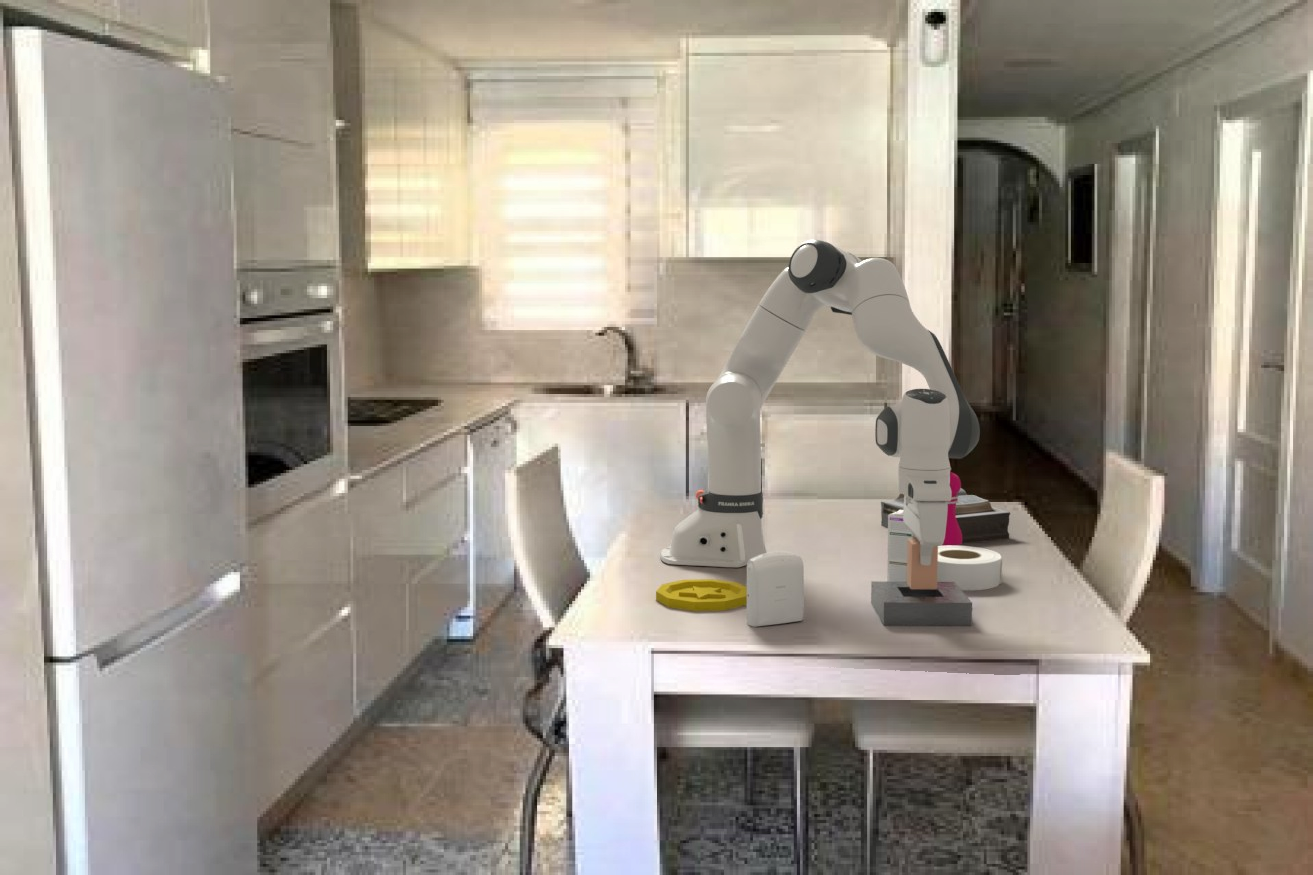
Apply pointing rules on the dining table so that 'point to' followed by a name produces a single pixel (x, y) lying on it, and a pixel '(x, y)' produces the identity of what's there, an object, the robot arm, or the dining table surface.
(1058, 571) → the dining table surface
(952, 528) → the pepper mill
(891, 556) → the syrup box
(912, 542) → the square peg
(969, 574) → the roll of tape
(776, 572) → the photo printer
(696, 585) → the decorative disc
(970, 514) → the bible
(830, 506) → the dining table surface
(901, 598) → the square hole block
